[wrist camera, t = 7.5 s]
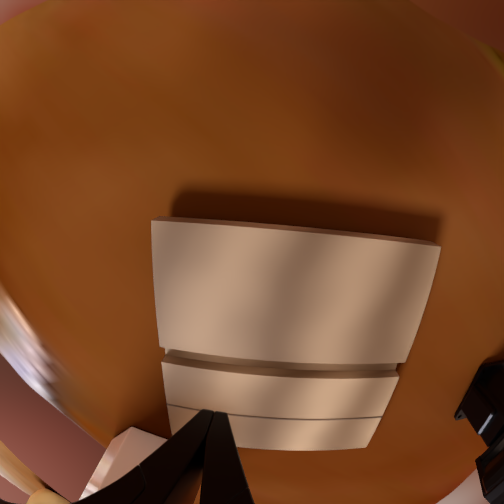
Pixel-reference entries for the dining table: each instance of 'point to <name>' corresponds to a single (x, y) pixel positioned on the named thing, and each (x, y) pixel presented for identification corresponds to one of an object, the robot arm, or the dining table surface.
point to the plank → (288, 291)
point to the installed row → (280, 399)
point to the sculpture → (46, 498)
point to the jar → (122, 457)
